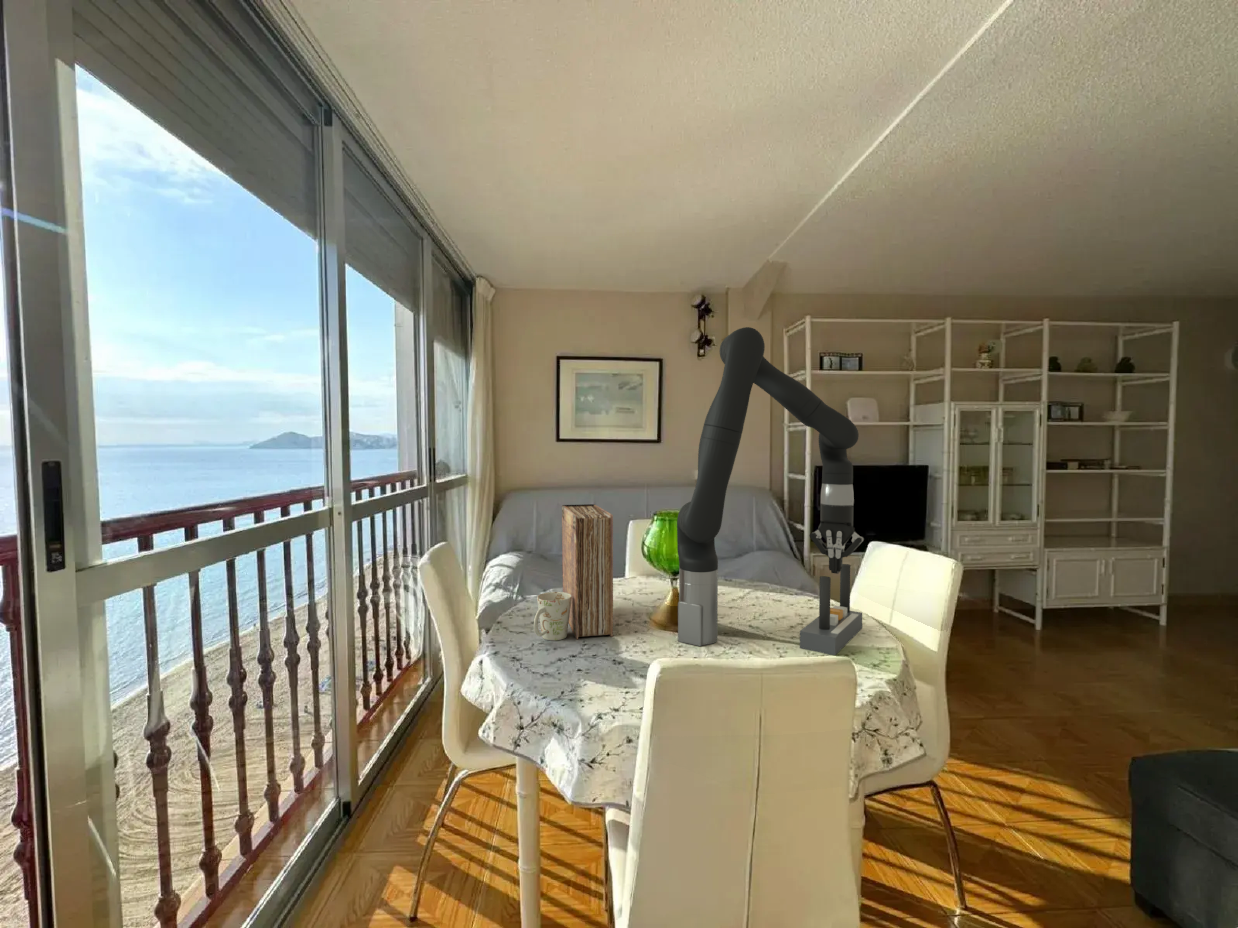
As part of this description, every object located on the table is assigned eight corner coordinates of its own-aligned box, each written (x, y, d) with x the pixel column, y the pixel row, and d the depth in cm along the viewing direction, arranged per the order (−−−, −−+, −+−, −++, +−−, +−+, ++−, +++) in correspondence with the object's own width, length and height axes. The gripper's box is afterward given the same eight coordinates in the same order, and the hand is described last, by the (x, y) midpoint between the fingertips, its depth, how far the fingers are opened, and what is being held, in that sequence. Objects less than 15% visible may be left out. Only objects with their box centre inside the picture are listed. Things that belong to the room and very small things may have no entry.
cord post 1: (828, 630, 137) (828, 579, 137) (817, 628, 139) (818, 577, 138) (831, 627, 139) (831, 577, 139) (820, 626, 141) (821, 575, 140)
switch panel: (835, 655, 133) (835, 628, 132) (799, 648, 137) (799, 622, 137) (862, 628, 152) (862, 604, 151) (830, 622, 156) (830, 599, 156)
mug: (577, 633, 148) (577, 594, 147) (551, 650, 136) (550, 607, 136) (549, 629, 151) (548, 590, 151) (520, 644, 140) (520, 602, 139)
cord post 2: (848, 613, 151) (849, 566, 151) (838, 611, 153) (839, 565, 152) (850, 610, 153) (851, 564, 153) (841, 609, 154) (841, 563, 154)
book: (613, 637, 145) (613, 515, 144) (575, 640, 143) (575, 516, 142) (594, 608, 170) (594, 503, 168) (562, 610, 168) (561, 504, 166)
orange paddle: (839, 620, 144) (840, 612, 144) (827, 618, 146) (827, 610, 146) (842, 618, 146) (842, 610, 146) (830, 615, 148) (830, 607, 148)
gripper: (804, 501, 146) (803, 572, 146) (861, 505, 138) (859, 579, 139) (814, 499, 152) (813, 566, 152) (869, 502, 144) (867, 573, 145)
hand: (835, 572), depth 145 cm, fingers closed
